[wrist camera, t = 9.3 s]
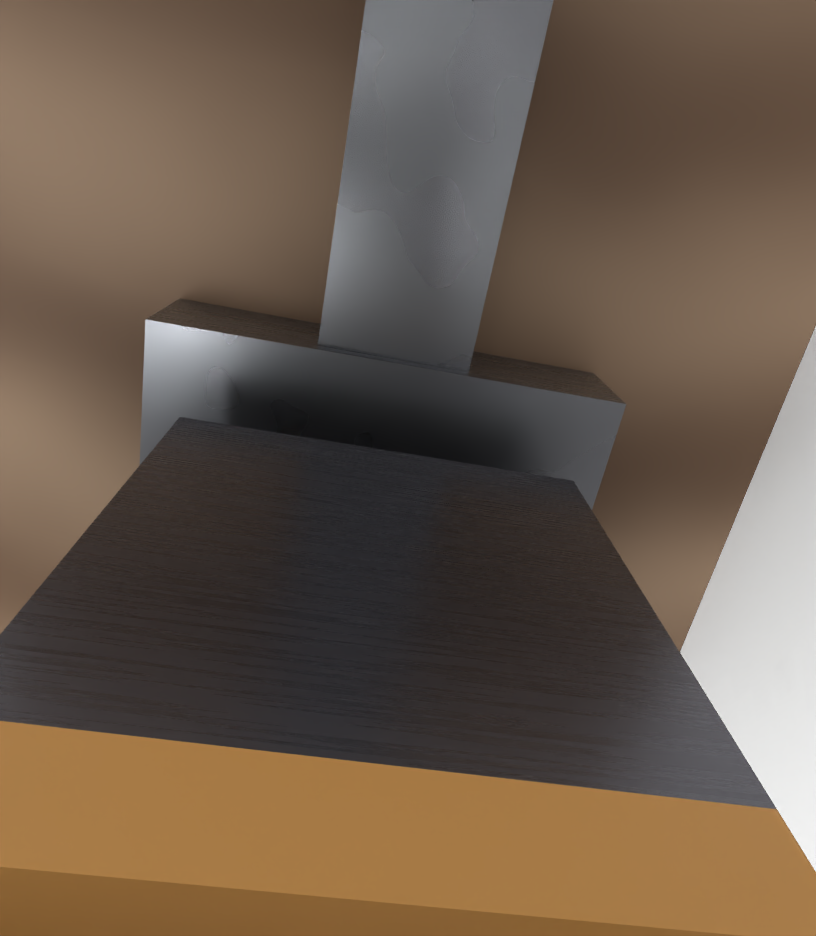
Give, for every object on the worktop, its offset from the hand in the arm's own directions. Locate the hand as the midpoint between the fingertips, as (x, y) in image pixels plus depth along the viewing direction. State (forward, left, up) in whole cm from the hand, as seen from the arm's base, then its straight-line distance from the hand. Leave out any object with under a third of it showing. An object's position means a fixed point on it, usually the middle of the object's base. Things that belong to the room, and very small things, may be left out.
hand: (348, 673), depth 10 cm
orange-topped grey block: (0, 0, -2) cm, 2 cm away
